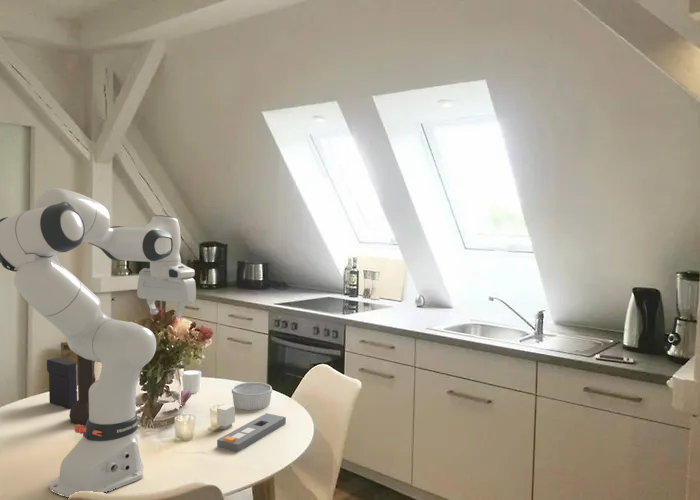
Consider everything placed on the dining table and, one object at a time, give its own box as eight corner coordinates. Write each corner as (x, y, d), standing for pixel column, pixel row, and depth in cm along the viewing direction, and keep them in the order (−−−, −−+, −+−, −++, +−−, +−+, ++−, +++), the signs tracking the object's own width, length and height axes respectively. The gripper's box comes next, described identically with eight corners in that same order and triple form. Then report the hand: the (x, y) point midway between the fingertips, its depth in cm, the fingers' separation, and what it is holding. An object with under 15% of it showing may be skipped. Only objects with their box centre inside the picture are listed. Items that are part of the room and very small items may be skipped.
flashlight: (68, 427, 187) (103, 424, 190) (66, 345, 185) (102, 343, 188) (70, 416, 196) (104, 413, 199) (69, 338, 194) (103, 336, 197)
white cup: (178, 393, 220) (178, 374, 220) (186, 387, 227) (186, 369, 226) (196, 395, 219) (196, 375, 219) (204, 389, 226) (204, 370, 225)
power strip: (238, 457, 168) (238, 441, 167) (217, 452, 171) (217, 436, 170) (285, 428, 189) (285, 414, 189) (266, 424, 192) (266, 410, 192)
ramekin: (278, 410, 205) (279, 390, 204) (241, 418, 198) (242, 396, 197) (261, 399, 216) (261, 379, 215) (225, 406, 208) (225, 385, 208)
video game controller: (173, 418, 201) (182, 399, 199) (162, 410, 201) (170, 392, 200) (187, 407, 210) (196, 390, 209) (176, 401, 211) (184, 383, 210)
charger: (225, 433, 183) (225, 410, 182) (216, 431, 184) (216, 408, 184) (234, 428, 187) (234, 405, 186) (226, 426, 188) (226, 403, 188)
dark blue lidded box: (79, 406, 205) (78, 362, 204) (67, 410, 202) (66, 364, 200) (59, 400, 211) (58, 356, 210) (47, 403, 207) (46, 359, 206)
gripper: (131, 268, 187) (132, 313, 188) (184, 273, 178) (185, 320, 179) (147, 266, 192) (147, 310, 194) (199, 271, 183) (199, 317, 185)
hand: (166, 315), depth 186 cm, fingers open, 8 cm apart
